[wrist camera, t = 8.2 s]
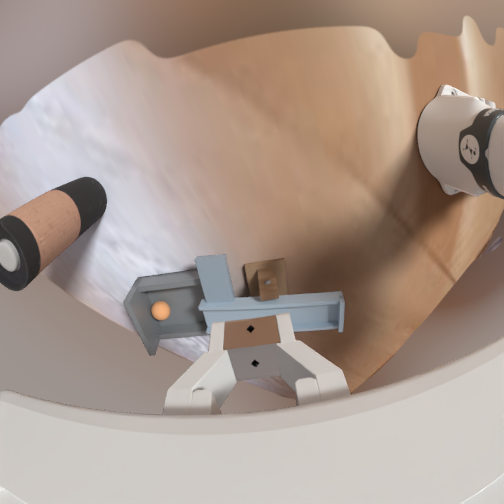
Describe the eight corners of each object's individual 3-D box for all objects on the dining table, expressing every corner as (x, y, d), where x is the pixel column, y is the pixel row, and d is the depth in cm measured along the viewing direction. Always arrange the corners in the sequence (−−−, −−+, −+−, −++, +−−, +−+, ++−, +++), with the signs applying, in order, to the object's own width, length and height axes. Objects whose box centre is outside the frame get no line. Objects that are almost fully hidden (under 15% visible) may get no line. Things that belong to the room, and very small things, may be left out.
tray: (207, 267, 43) (202, 293, 36) (221, 322, 47) (219, 350, 41) (137, 277, 43) (123, 302, 37) (158, 328, 48) (149, 355, 41)
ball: (146, 302, 43) (162, 294, 45) (152, 317, 44) (168, 309, 46) (152, 311, 41) (169, 302, 42) (159, 327, 42) (175, 318, 44)
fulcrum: (283, 258, 42) (291, 283, 36) (289, 311, 47) (295, 340, 40) (244, 264, 42) (245, 290, 36) (254, 316, 47) (256, 346, 41)
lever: (342, 245, 34) (346, 255, 31) (340, 319, 39) (342, 332, 37) (190, 256, 37) (183, 267, 35) (210, 325, 43) (205, 337, 40)
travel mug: (93, 231, 39) (21, 305, 21) (62, 202, 36) (-22, 259, 19) (117, 196, 37) (36, 259, 19) (83, 164, 34) (-11, 207, 16)
